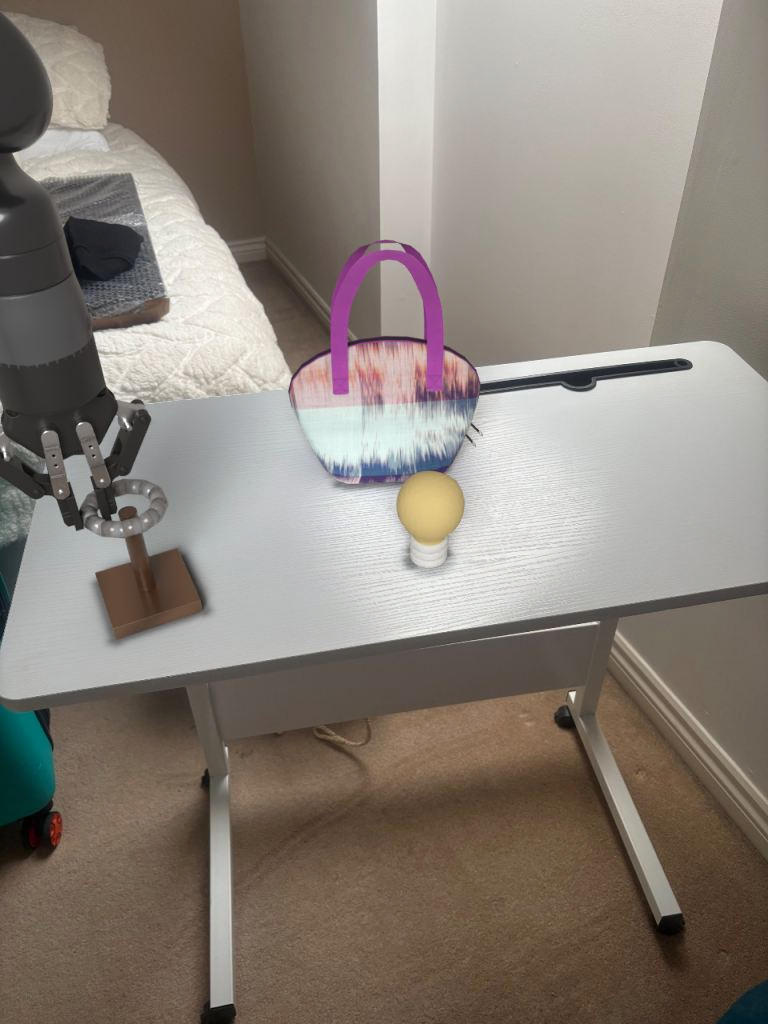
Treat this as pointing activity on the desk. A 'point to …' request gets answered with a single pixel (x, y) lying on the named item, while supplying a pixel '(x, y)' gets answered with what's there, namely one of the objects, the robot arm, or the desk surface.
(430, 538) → the light bulb
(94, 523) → the grey beaded ring
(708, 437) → the desk surface
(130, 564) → the stand
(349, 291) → the handbag
